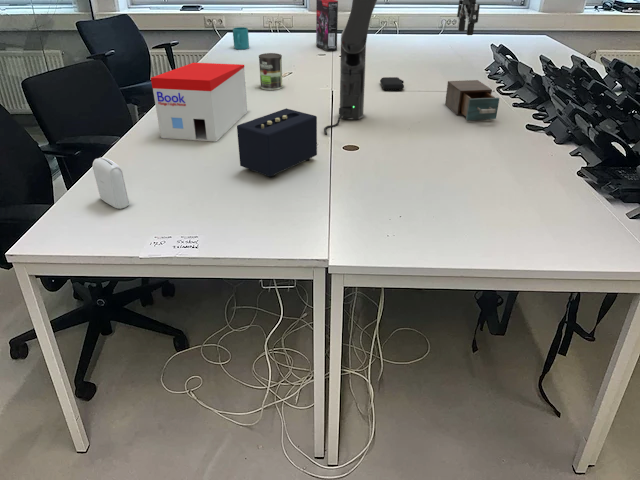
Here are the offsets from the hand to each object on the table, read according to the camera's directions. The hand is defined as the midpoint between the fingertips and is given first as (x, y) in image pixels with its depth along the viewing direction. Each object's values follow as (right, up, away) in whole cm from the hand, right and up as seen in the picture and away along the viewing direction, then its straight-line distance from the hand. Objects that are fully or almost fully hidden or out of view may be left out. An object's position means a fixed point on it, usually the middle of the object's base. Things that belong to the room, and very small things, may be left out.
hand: (465, 33), depth 192 cm
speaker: (-65, -52, -28) cm, 88 cm away
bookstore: (-95, -32, +6) cm, 101 cm away
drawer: (+7, -28, +10) cm, 31 cm away
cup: (-100, +39, +126) cm, 165 cm away
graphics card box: (-49, +39, +125) cm, 139 cm away
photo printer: (-108, -65, -49) cm, 136 cm away
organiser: (+6, -23, +21) cm, 31 cm away
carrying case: (-20, -5, +50) cm, 54 cm away
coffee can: (-75, -5, +51) cm, 91 cm away
